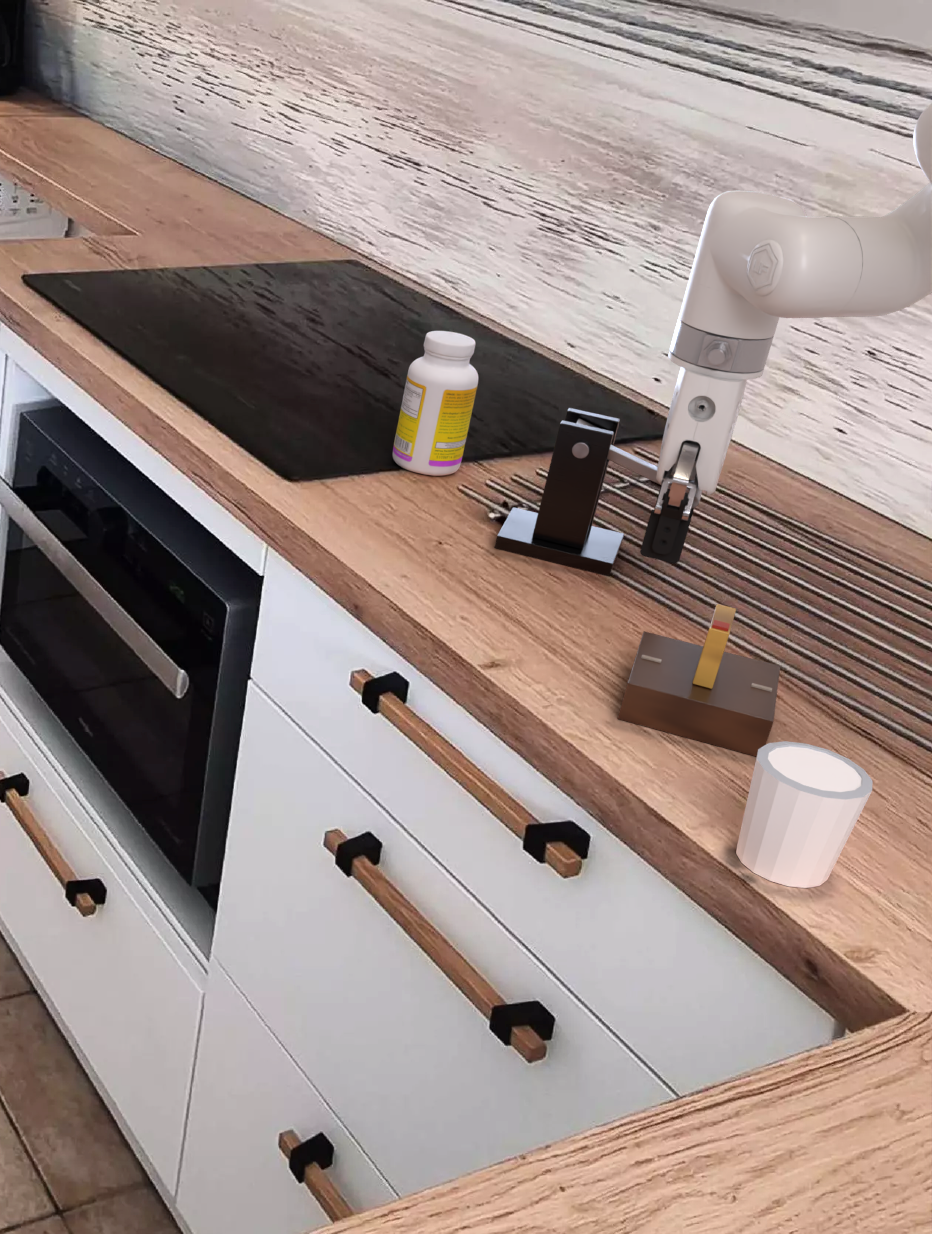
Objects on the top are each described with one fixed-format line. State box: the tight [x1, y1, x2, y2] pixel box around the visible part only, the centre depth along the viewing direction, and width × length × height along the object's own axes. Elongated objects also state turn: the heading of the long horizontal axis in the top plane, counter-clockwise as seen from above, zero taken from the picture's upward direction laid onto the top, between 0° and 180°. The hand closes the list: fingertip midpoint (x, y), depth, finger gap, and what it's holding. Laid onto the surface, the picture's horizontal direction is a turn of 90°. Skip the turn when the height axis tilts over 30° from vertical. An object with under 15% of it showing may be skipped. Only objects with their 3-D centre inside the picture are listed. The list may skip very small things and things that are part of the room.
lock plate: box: [617, 630, 781, 758], centre depth 127 cm, size 10×10×3 cm
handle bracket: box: [494, 407, 625, 577], centre depth 151 cm, size 10×8×12 cm
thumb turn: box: [693, 603, 737, 689], centre depth 126 cm, size 5×1×5 cm, turn 155°
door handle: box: [577, 419, 704, 509], centre depth 149 cm, size 12×5×2 cm, turn 68°
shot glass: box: [735, 740, 874, 889], centre depth 109 cm, size 7×7×7 cm
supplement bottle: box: [392, 330, 479, 477], centre depth 167 cm, size 7×7×13 cm
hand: (664, 539), depth 150 cm, fingers open, 9 cm apart
